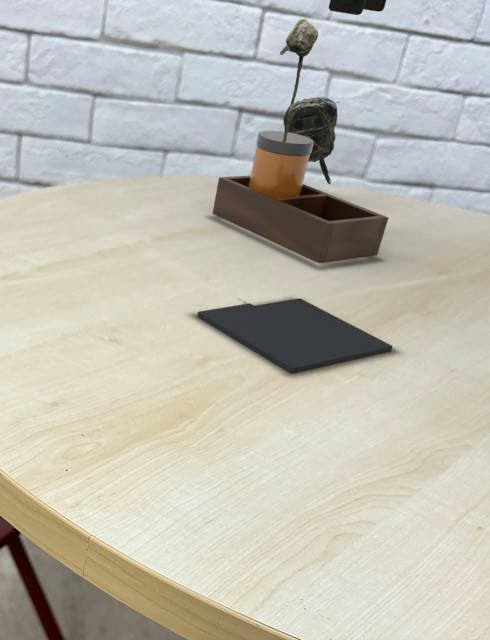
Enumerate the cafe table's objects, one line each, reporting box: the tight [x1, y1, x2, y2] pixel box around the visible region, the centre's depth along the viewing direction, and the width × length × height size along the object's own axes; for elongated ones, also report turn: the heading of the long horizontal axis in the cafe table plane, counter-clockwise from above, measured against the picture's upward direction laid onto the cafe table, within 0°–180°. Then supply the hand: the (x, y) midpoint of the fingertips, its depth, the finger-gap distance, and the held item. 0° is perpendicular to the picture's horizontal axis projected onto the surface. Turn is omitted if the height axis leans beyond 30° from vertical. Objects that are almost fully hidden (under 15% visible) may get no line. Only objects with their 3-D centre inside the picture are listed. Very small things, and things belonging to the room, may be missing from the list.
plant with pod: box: [279, 18, 340, 185], centre depth 107 cm, size 8×11×20 cm
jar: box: [248, 130, 314, 198], centre depth 97 cm, size 6×6×9 cm
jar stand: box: [212, 174, 389, 264], centre depth 96 cm, size 9×18×5 cm, turn 33°
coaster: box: [196, 297, 393, 374], centre depth 74 cm, size 12×12×1 cm
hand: (356, 11), depth 85 cm, fingers open, 9 cm apart
